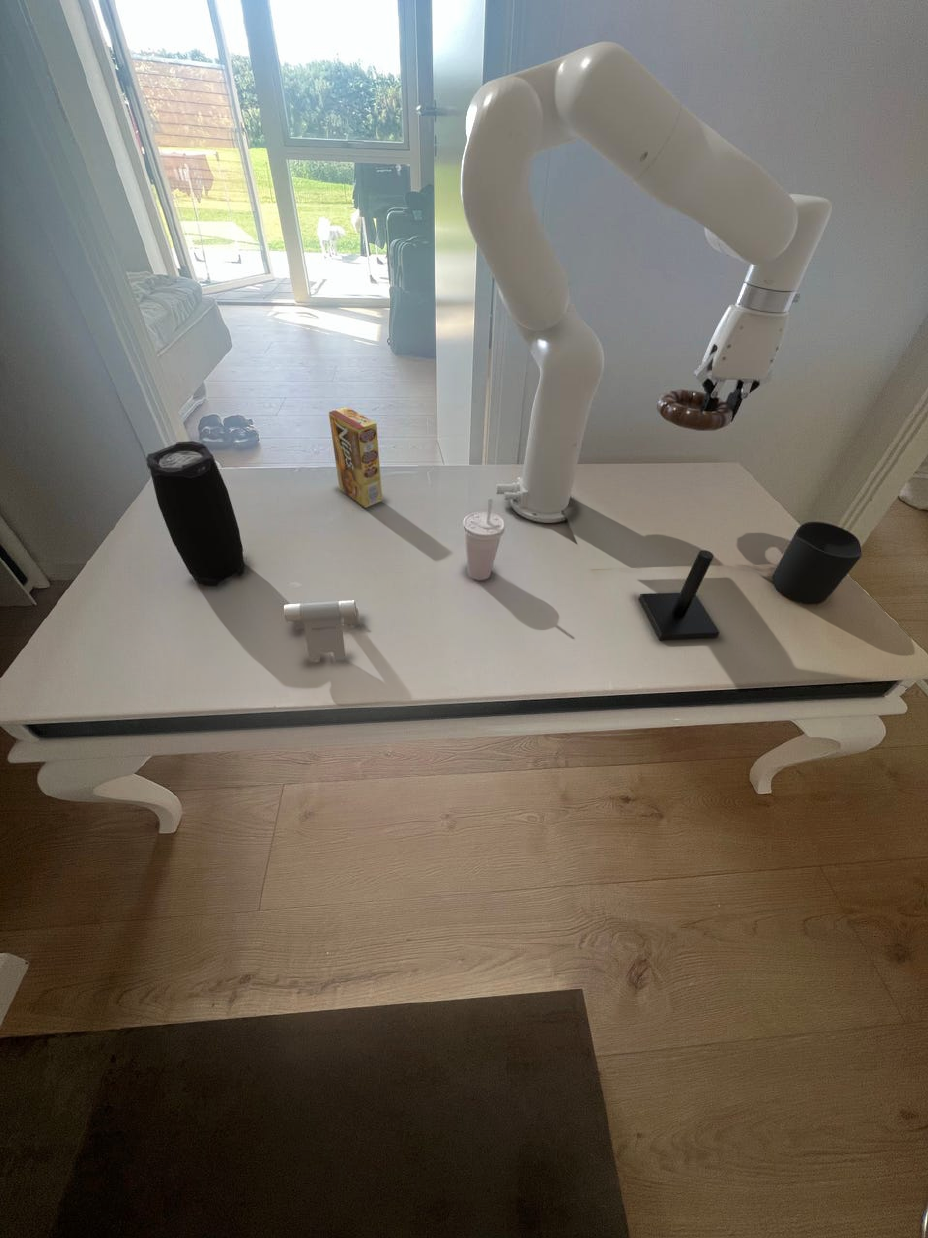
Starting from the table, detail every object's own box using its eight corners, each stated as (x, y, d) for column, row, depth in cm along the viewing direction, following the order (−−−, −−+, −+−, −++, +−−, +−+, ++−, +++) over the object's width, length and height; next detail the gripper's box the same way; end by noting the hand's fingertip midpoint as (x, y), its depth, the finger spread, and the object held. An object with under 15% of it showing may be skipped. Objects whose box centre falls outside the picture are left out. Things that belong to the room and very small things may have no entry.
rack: (659, 640, 76) (688, 575, 68) (638, 599, 83) (662, 535, 74) (716, 638, 77) (753, 574, 69) (691, 597, 84) (722, 534, 75)
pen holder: (841, 599, 85) (879, 550, 78) (800, 613, 82) (835, 563, 75) (796, 565, 91) (826, 517, 84) (756, 576, 88) (784, 527, 81)
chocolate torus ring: (671, 432, 86) (678, 415, 84) (645, 402, 95) (650, 385, 93) (741, 434, 88) (749, 416, 86) (708, 404, 96) (715, 387, 94)
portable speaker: (178, 587, 78) (127, 468, 65) (205, 550, 85) (163, 435, 72) (234, 592, 78) (195, 474, 65) (257, 555, 85) (225, 440, 71)
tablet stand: (359, 618, 76) (354, 574, 70) (360, 659, 70) (354, 614, 65) (297, 622, 75) (287, 577, 69) (294, 664, 69) (282, 619, 63)
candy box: (383, 501, 99) (378, 422, 88) (365, 509, 96) (357, 429, 86) (355, 482, 103) (347, 405, 92) (337, 490, 101) (327, 411, 90)
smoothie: (495, 588, 82) (505, 512, 73) (455, 581, 83) (460, 505, 73) (501, 564, 87) (511, 489, 77) (463, 557, 88) (469, 483, 78)
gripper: (799, 296, 83) (747, 410, 96) (703, 290, 81) (663, 408, 93) (828, 309, 78) (769, 428, 90) (725, 303, 75) (679, 426, 88)
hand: (715, 417), depth 92 cm, fingers closed on chocolate torus ring, 3 cm apart
